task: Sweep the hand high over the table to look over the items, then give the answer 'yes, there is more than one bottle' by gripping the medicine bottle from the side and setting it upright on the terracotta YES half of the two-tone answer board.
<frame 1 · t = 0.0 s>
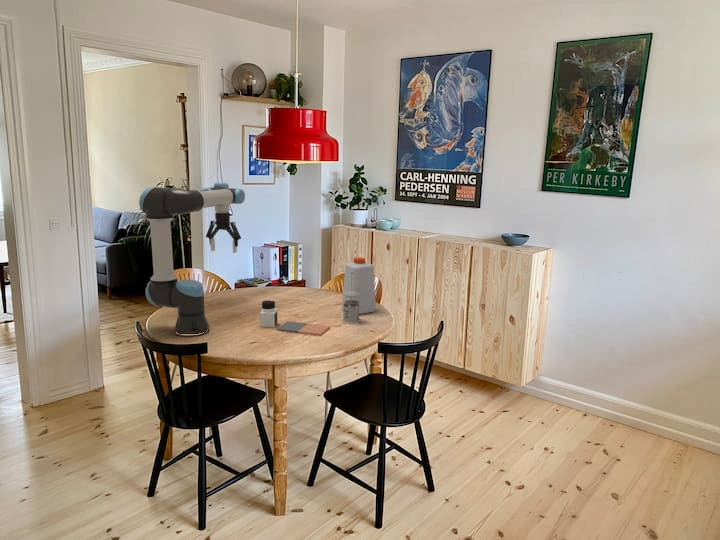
hand: (223, 251, 293), 28 cm above the table, tool pointing down, fingers open, 13 cm apart
answer board: (303, 329, 255), on the table
french press: (350, 320, 269), on the table
medicine bottle: (268, 325, 260), on the table
plastic bottle: (358, 310, 286), on the table
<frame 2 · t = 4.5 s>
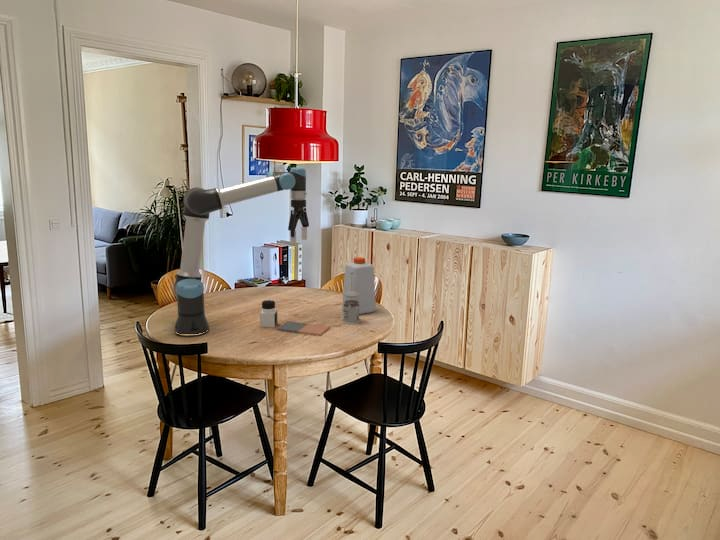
hand: (299, 241, 275), 37 cm above the table, tool pointing down, fingers open, 13 cm apart
nothing on the table moved.
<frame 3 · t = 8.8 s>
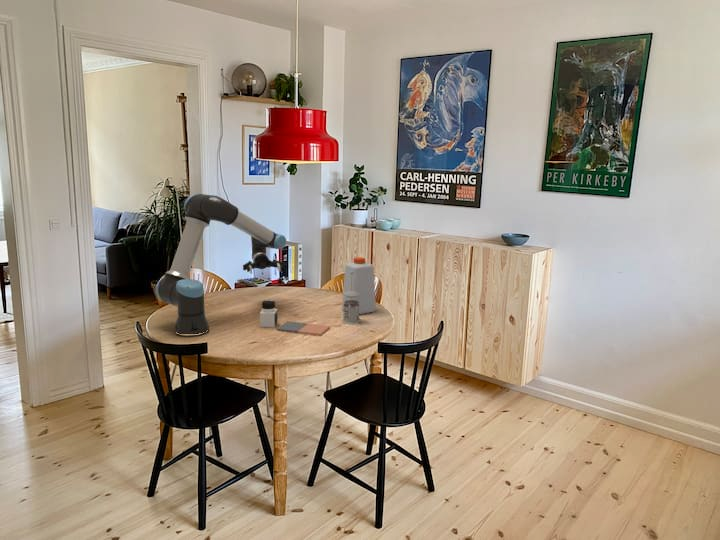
hand: (265, 269, 263), 25 cm above the table, tool horizontal, fingers open, 13 cm apart
nothing on the table moved.
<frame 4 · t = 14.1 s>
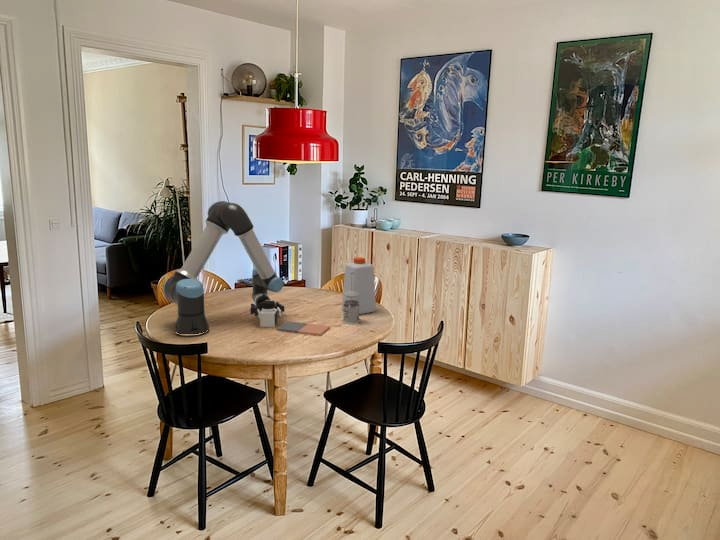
hand: (270, 314, 255), 7 cm above the table, tool horizontal, fingers closed on medicine bottle, 9 cm apart
medicine bottle: (268, 325, 260), on the table, touching gripper
everything else where it was.
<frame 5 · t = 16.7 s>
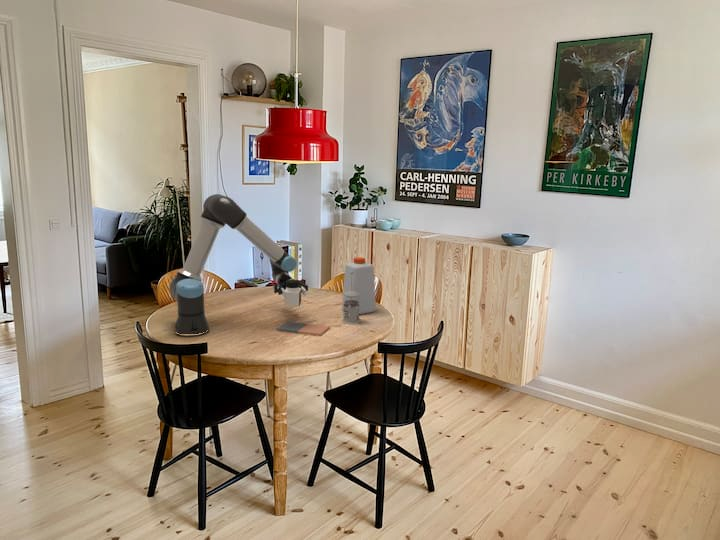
hand: (295, 293, 251), 17 cm above the table, tool horizontal, fingers closed on medicine bottle, 9 cm apart
medicine bottle: (292, 304, 257), point 11 cm above the table, touching gripper
everything else where it was.
when the fingers open (8 cm above the table, at t = 19.7 s): medicine bottle stays where it is, resting on answer board.
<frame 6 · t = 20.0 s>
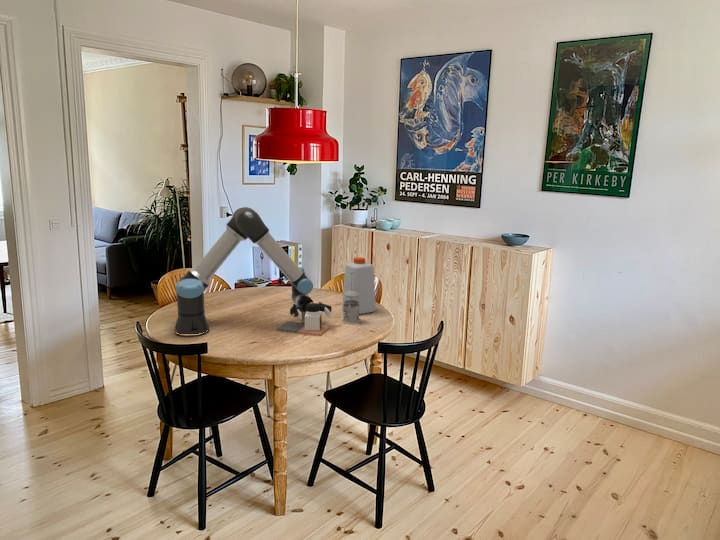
hand: (315, 315, 248), 8 cm above the table, tool horizontal, fingers open, 12 cm apart
medicine bottle: (313, 328, 253), point 1 cm above the table, touching answer board
everything else where it was.
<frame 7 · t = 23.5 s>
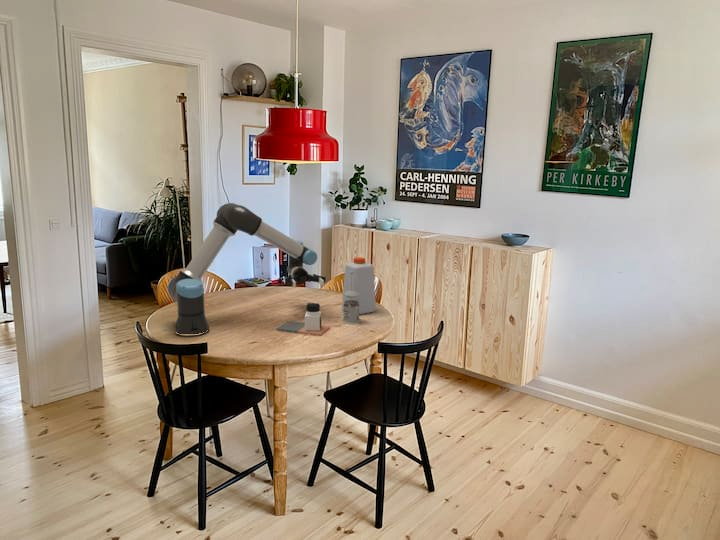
hand: (309, 284, 258), 20 cm above the table, tool horizontal, fingers open, 13 cm apart
nothing on the table moved.
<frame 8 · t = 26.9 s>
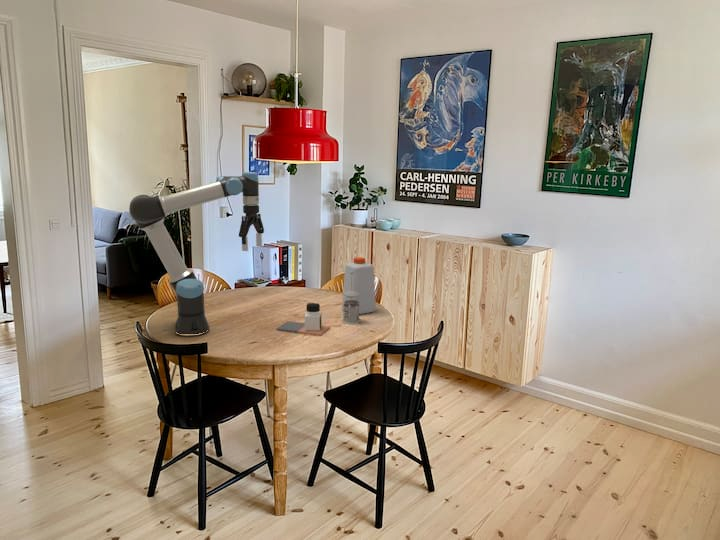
hand: (252, 248, 265), 35 cm above the table, tool pointing down, fingers open, 13 cm apart
nothing on the table moved.
at the end: medicine bottle inside the target area on the answer board (0.8 cm from its centre), point 0.8 cm above the answer board's base; medicine bottle tilted 0°; the gripper is holding nothing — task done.
